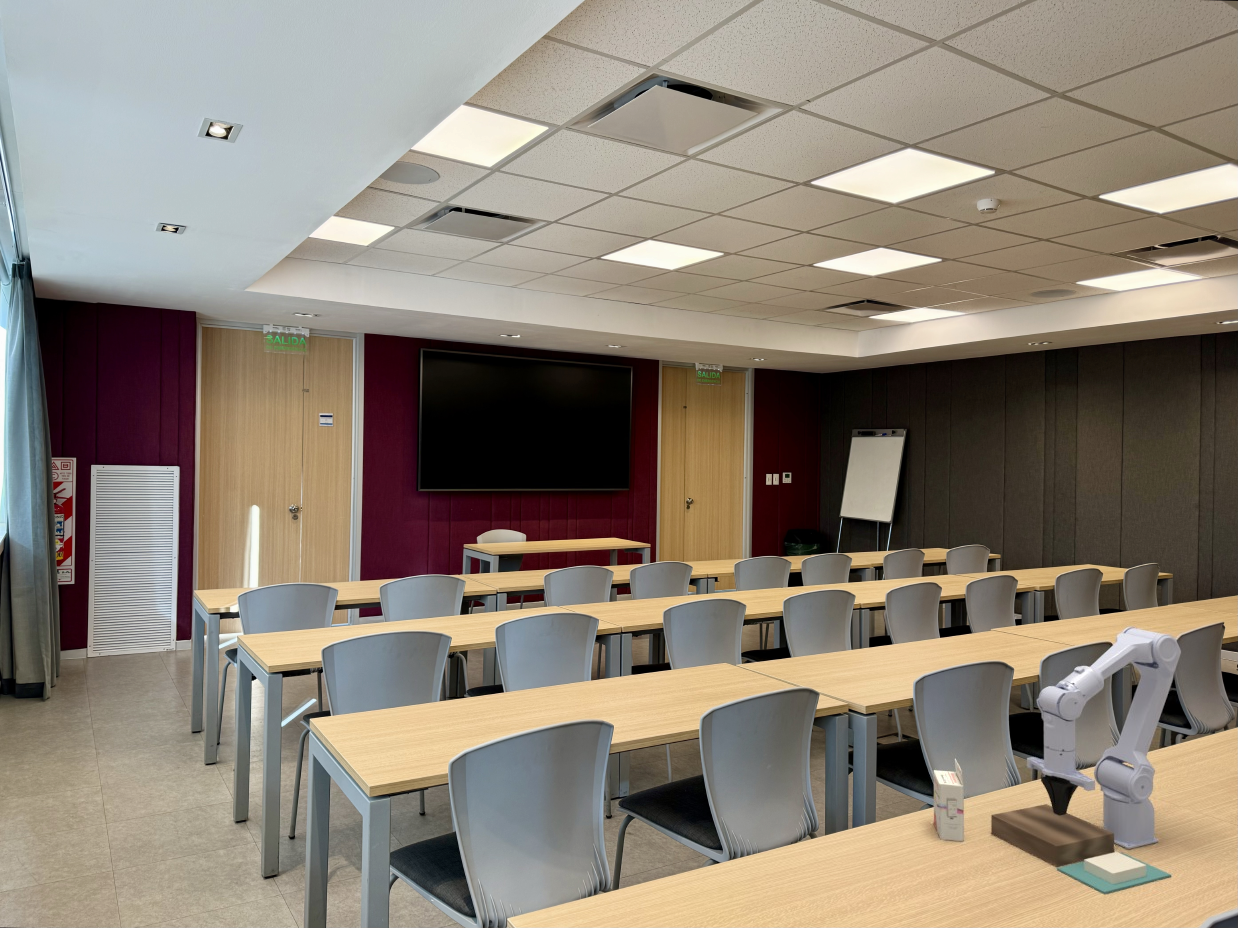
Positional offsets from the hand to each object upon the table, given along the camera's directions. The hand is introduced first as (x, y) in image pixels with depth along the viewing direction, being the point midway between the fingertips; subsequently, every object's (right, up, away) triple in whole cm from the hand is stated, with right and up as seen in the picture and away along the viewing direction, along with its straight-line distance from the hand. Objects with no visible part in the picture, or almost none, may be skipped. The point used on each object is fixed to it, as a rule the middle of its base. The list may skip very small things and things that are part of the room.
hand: (1059, 813), depth 170 cm
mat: (+4, -7, -11) cm, 14 cm away
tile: (+4, -5, -12) cm, 14 cm away
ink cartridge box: (-20, -7, +7) cm, 22 cm away
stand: (-1, -7, +2) cm, 7 cm away
